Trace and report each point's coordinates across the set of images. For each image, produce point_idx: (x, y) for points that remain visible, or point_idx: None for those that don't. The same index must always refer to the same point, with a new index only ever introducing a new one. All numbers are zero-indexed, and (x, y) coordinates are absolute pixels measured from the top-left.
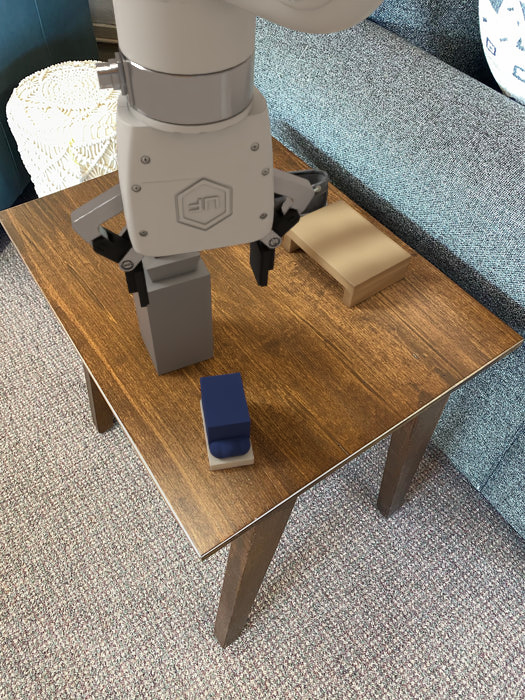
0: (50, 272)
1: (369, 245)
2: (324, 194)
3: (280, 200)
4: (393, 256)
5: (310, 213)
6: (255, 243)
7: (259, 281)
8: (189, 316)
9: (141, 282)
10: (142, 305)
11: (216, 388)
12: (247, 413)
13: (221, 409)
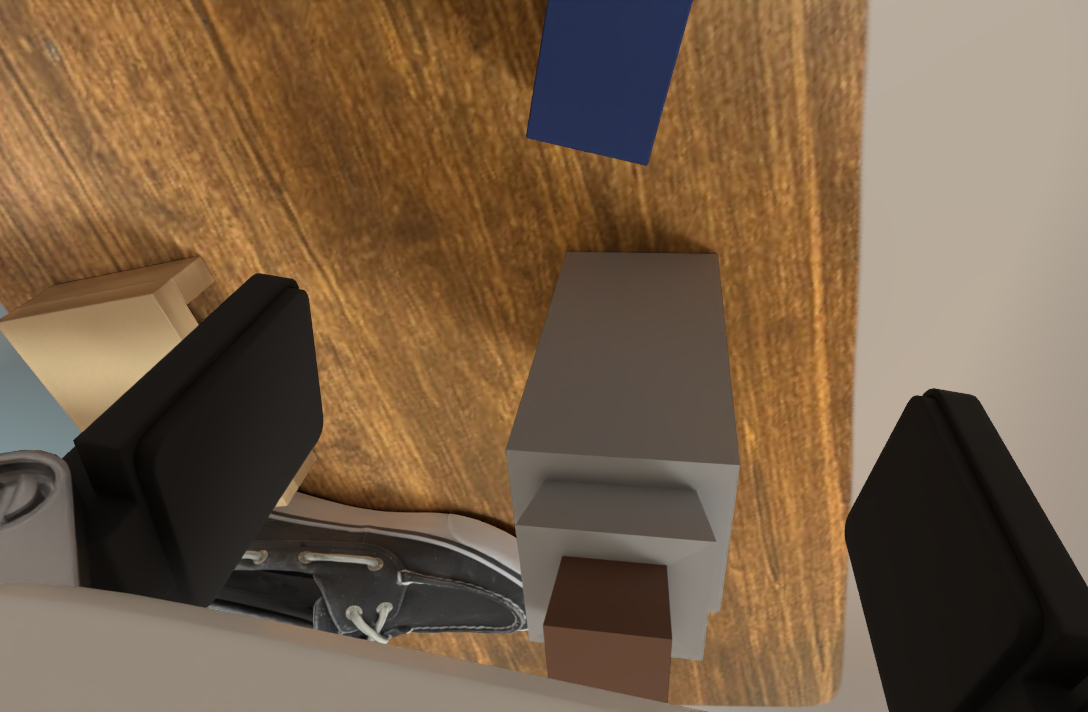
0: (819, 577)
1: (97, 387)
2: None
3: (277, 562)
4: (41, 337)
5: None
6: (193, 523)
7: (283, 304)
8: (605, 355)
9: (1032, 543)
10: (971, 401)
11: (615, 107)
12: None
13: (631, 20)
